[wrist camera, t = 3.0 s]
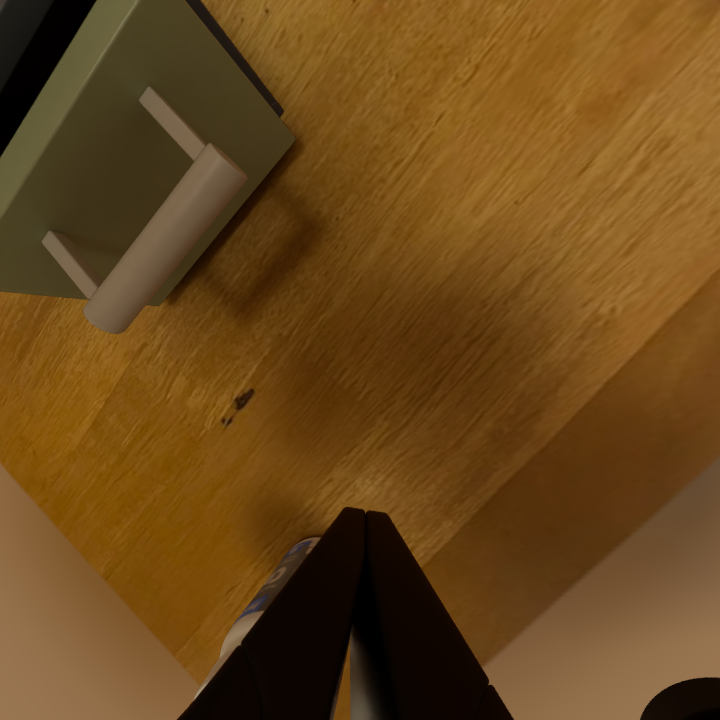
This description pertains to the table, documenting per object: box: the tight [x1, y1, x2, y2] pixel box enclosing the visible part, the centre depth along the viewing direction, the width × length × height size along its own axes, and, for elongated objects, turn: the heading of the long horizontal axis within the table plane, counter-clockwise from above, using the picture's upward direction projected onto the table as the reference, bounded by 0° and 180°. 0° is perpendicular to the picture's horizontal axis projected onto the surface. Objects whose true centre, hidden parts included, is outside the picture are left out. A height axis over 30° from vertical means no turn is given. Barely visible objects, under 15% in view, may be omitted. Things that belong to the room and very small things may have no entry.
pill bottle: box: [193, 537, 321, 701], centre depth 17 cm, size 5×5×8 cm
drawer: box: [0, 0, 296, 334], centre depth 16 cm, size 18×12×9 cm, turn 44°
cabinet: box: [0, 0, 284, 117], centre depth 16 cm, size 15×13×11 cm
